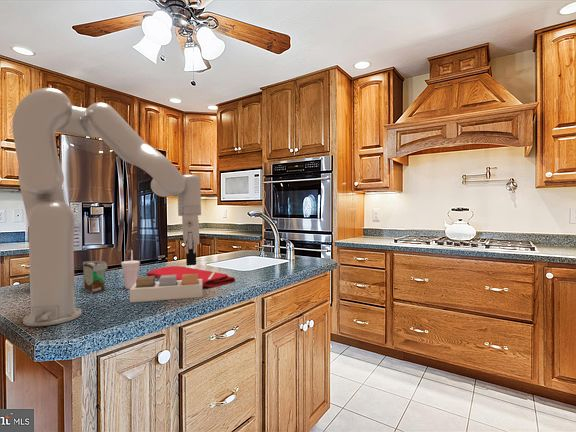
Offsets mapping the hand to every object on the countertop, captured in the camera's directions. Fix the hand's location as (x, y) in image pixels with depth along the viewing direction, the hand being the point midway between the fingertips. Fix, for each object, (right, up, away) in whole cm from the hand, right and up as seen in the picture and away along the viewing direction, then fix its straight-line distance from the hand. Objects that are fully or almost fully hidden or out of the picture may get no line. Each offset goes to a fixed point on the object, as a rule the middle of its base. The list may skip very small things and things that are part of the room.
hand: (191, 264), depth 111 cm
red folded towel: (-8, -10, +25) cm, 29 cm away
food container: (-36, -10, +7) cm, 38 cm away
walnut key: (-14, -7, -4) cm, 16 cm away
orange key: (0, -7, 0) cm, 7 cm away
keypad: (-7, -10, -2) cm, 13 cm away
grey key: (-7, -7, -2) cm, 10 cm away
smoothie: (-25, -10, +10) cm, 29 cm away
